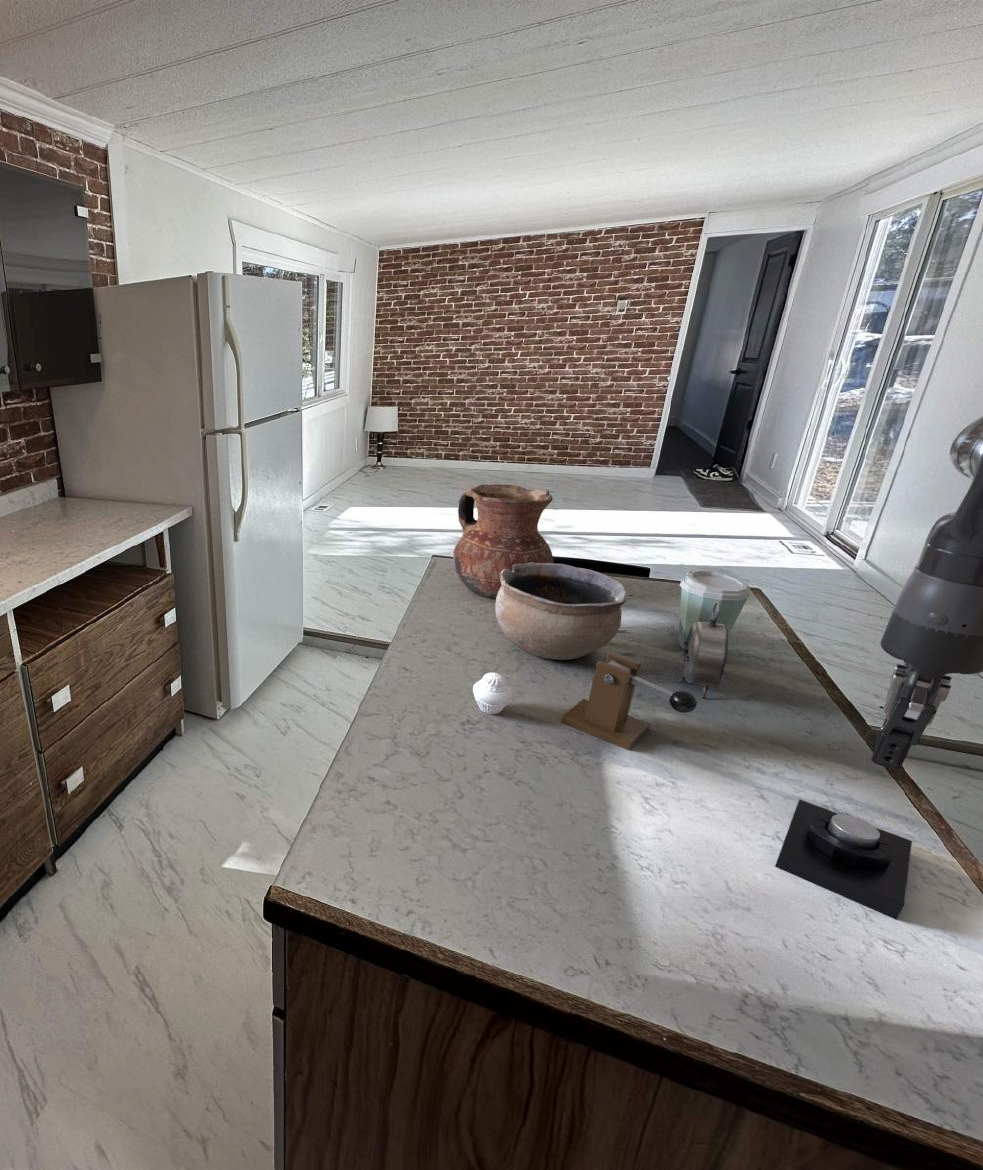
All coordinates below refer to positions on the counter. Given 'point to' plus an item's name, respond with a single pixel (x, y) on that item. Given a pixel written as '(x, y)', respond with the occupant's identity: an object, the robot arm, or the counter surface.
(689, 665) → the alarm clock
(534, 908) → the counter surface
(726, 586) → the disposable coffee cup
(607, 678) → the lever bracket
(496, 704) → the muffin
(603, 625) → the ceramic bowl
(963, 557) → the robot arm
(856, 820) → the grey push button
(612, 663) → the ball knob lever
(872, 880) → the button base
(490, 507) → the jug
